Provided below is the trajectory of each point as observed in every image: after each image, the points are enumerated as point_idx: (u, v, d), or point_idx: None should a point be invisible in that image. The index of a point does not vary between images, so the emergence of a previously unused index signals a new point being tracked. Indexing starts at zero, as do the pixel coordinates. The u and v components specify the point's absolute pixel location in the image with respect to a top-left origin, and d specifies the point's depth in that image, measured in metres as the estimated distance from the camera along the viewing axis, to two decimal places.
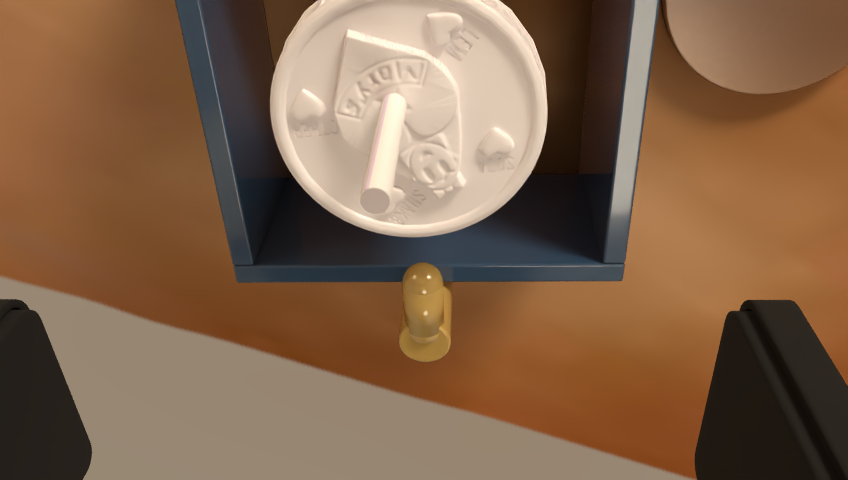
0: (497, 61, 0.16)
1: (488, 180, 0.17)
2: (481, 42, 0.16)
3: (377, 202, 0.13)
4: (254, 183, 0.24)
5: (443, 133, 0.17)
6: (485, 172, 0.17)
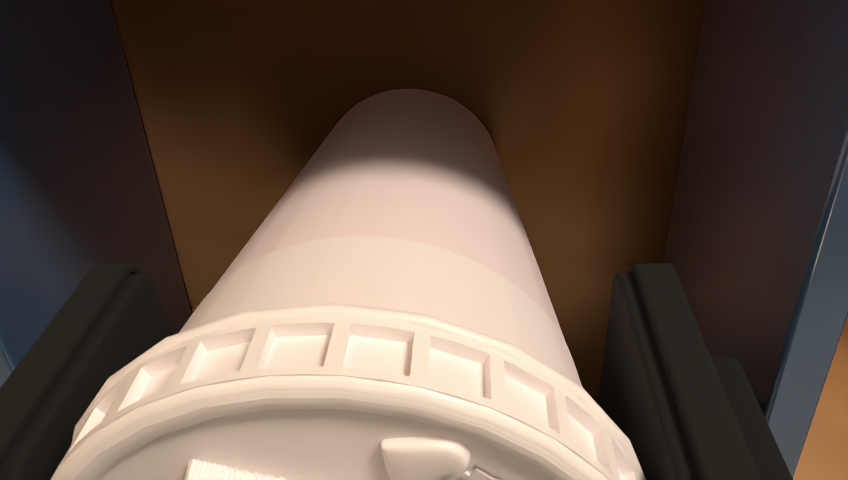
0: None
1: None
2: None
3: None
4: None
5: None
6: None
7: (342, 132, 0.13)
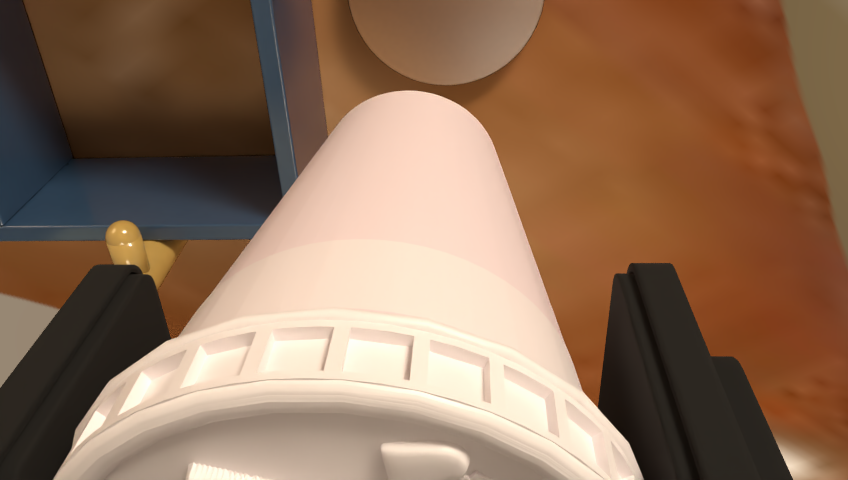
0: None
1: None
2: None
3: None
4: (6, 158, 0.29)
5: None
6: None
7: (342, 134, 0.13)
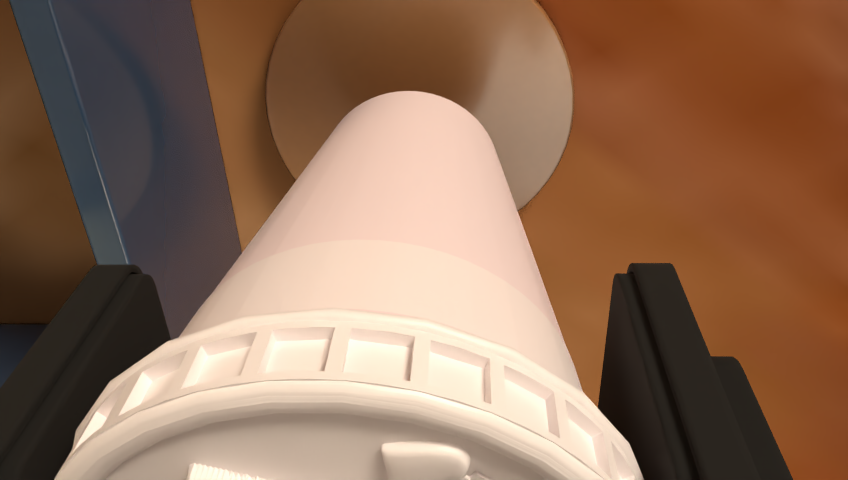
0: None
1: None
2: None
3: None
4: None
5: None
6: None
7: (342, 135, 0.13)
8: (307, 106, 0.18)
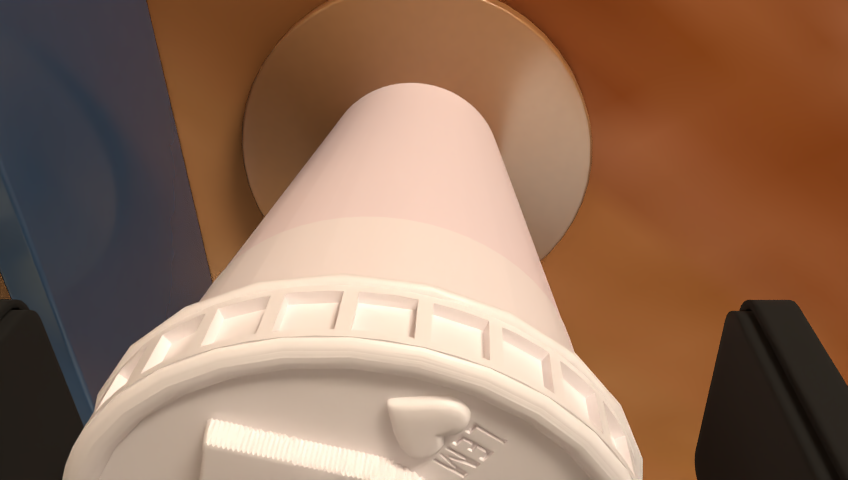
0: None
1: None
2: (512, 448, 0.07)
3: None
4: None
5: None
6: None
7: (347, 124, 0.13)
8: (289, 156, 0.16)
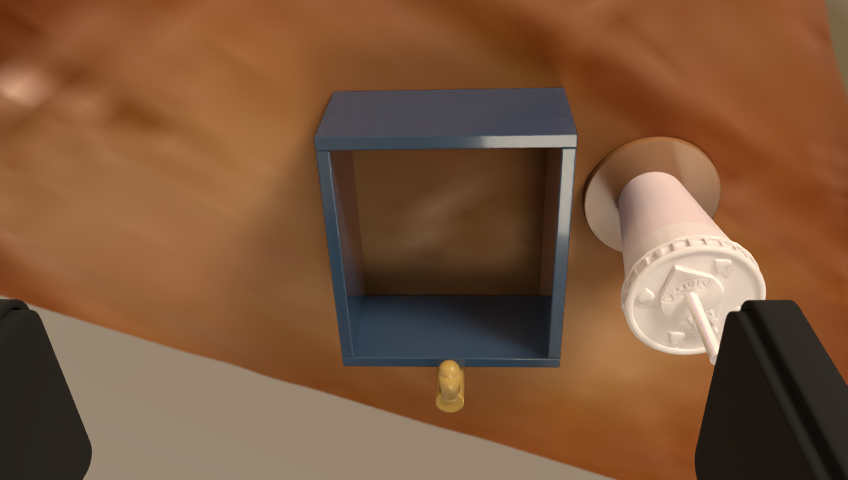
0: (744, 278, 0.33)
1: None
2: (738, 271, 0.33)
3: None
4: (354, 311, 0.43)
5: (712, 309, 0.34)
6: None
7: (645, 189, 0.39)
8: (603, 197, 0.42)
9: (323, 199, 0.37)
